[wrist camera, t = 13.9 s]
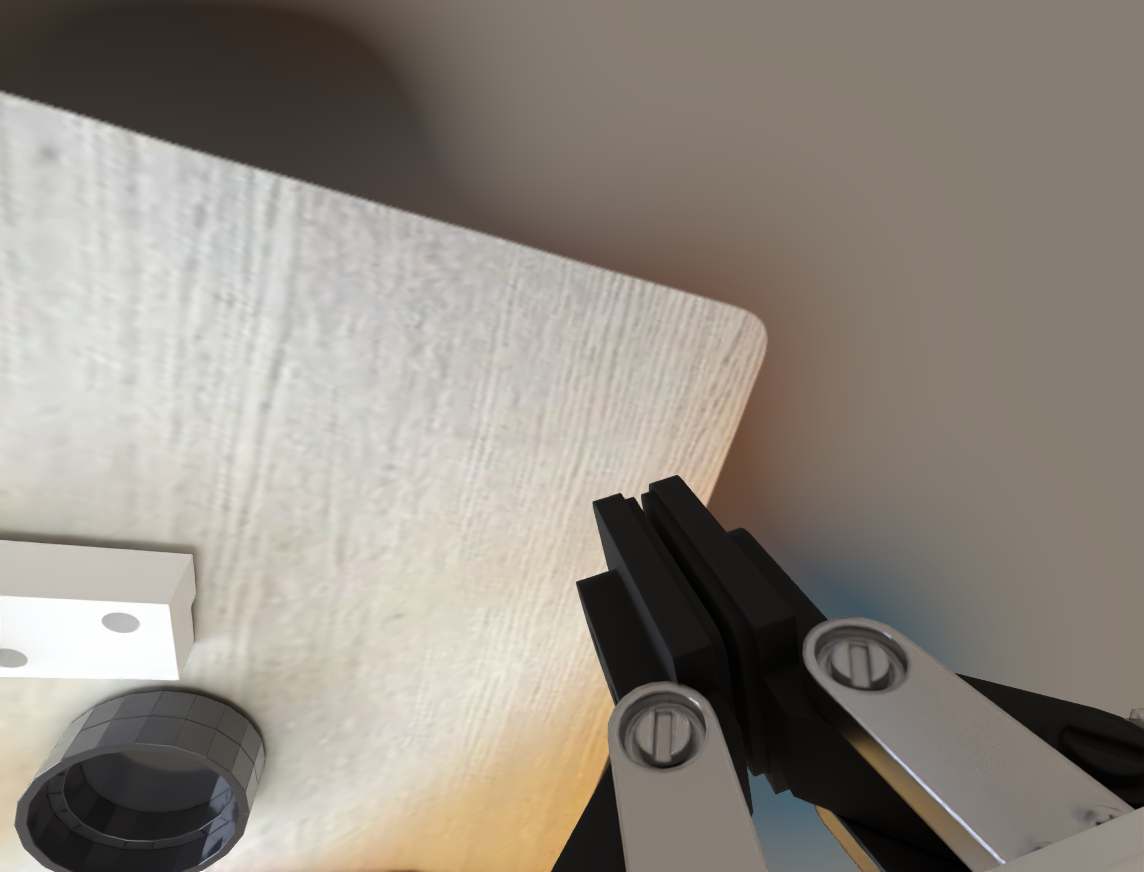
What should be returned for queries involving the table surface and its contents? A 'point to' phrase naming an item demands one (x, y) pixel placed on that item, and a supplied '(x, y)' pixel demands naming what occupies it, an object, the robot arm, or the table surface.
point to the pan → (143, 787)
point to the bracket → (94, 612)
